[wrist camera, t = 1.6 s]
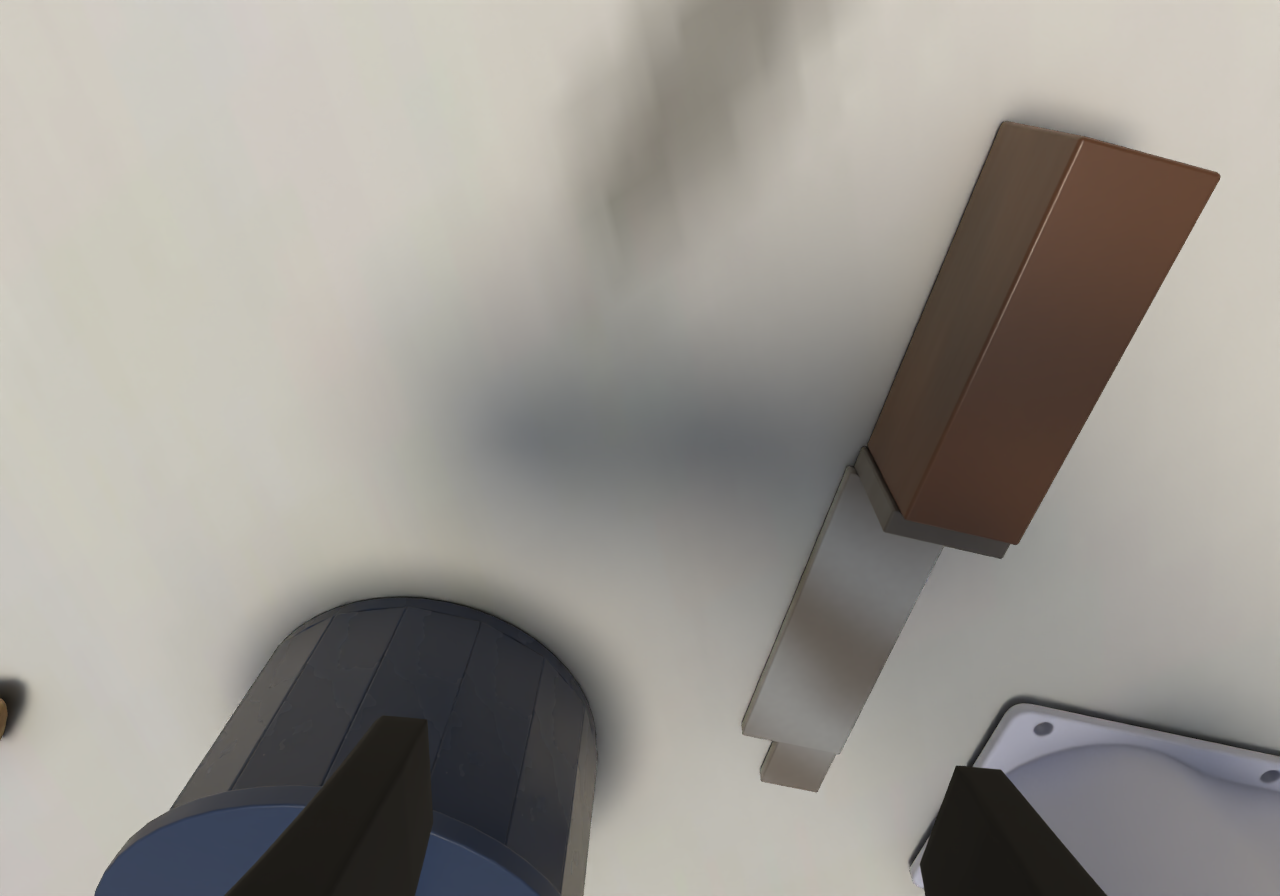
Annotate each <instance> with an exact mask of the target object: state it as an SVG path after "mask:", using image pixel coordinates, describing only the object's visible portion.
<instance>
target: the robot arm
mask: <svg viewBox="0 0 1280 896" xmlns="http://www.w3.org/2000/svg"><path fill="white" fill-rule="evenodd" d="M1043 722H1044V723H1043ZM1040 723H1043V724H1040ZM1038 724H1040V725H1038ZM432 825H433V809H432V791H431V773H430V756H429V738H428V720H427V719H418V718H407V717H395V716H384V715H383V716H381V717H380V718H378V719H377V720H376V721H375V722H374V723H373V724H372V726H371V727H370V728H369V729H368V731H367V732H366V733H365V735H364V736H363V737H362V738H361V740H360V741H359V742H358V744H357V745H356V746H355V747H354V749H353V750H352V751H351V752H350V754H349V755H348V756H347V757H346V759H345V760H344V761H343V762H342V764H341V765H340V766H339V767H338V769H337V770H336V771H335V772H334V773H333V775H332V776H331V777H330V778H329V779H328V781H327V782H326V783H325V784H324V785H323V787H322V788H321V789H320V790H319V791H318V793H317V794H316V795H315V796H314V797H313V798H312V800H311V801H310V802H309V803H308V804H307V806H306V807H305V808H304V809H303V810H302V811H301V812H300V813H299V815H298V816H297V817H296V818H295V819H294V820H293V821H292V823H291V824H290V825H289V826H288V827H287V828H286V829H285V830H284V832H283V833H282V834H281V835H280V836H279V837H278V838H277V839H276V841H275V842H274V843H273V844H272V845H271V846H270V847H269V848H268V850H267V851H266V852H265V853H264V854H263V855H262V856H261V857H260V858H259V859H258V861H257V862H256V863H255V864H254V865H253V866H252V867H251V868H250V869H249V870H248V871H247V872H246V873H245V874H244V875H243V876H242V877H241V878H240V879H239V881H238V882H237V883H236V884H235V885H234V886H233V887H232V888H231V889H230V890H229V891H228V892H227V893H226V894H225V895H224V896H415V894H416V890H417V886H418V882H419V878H420V874H421V870H422V866H423V862H424V858H425V854H426V850H427V846H428V841H429V837H430V833H431V829H432ZM909 871H910V874H911V878H912V881H913V883H914V884H915V885H916V886H918V887H920V888H923V889H924V890H925V896H1280V757H1279V756H1275V755H1270V754H1265V753H1261V752H1256V751H1251V750H1246V749H1242V748H1237V747H1232V746H1228V745H1223V744H1218V743H1213V742H1209V741H1204V740H1199V739H1194V738H1190V737H1185V736H1180V735H1176V734H1171V733H1166V732H1161V731H1157V730H1152V729H1147V728H1143V727H1138V726H1133V725H1128V724H1124V723H1119V722H1114V721H1110V720H1105V719H1100V718H1095V717H1091V716H1086V715H1081V714H1076V713H1072V712H1067V711H1062V710H1058V709H1053V708H1048V707H1043V706H1039V705H1034V704H1027V703H1021V704H1017V705H1014V706H1013V707H1011V708H1010V709H1009V710H1008V711H1007V712H1006V713H1005V715H1004V716H1003V718H1002V719H1001V721H1000V723H999V724H998V726H997V728H996V729H995V731H994V732H993V734H992V736H991V737H990V739H989V740H988V742H987V744H986V745H985V747H984V749H983V750H982V752H981V753H980V755H979V757H978V758H977V760H976V762H975V763H974V765H973V766H972V767H967V766H956V768H955V770H954V773H953V776H952V778H951V781H950V784H949V786H948V789H947V792H946V794H945V797H944V800H943V803H942V805H941V808H940V811H939V813H938V816H937V819H936V821H935V824H934V827H933V829H932V832H931V835H930V836H929V838H928V839H927V841H926V843H925V844H924V846H923V847H922V849H921V851H920V852H919V854H918V856H917V857H916V859H915V860H914V862H913V864H912V865H911V867H910V870H909Z"/></svg>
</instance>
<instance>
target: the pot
mask: <svg viewBox="0 0 1280 896" xmlns="http://www.w3.org/2000/svg"><path fill="white" fill-rule="evenodd" d="M383 715H384V716H395V717H407V718H418V719H427V720H428V738H429V756H430V773H431V791H432V809H433V810H434V811H437V812H440V813H442V814H445V815H447V816H449V817H452V818H454V819H456V820H459V821H461V822H463V823H465V824H468V825H470V826H472V827H474V828H476V829H477V830H479V831H481V832H483V833H485V834H487V835H488V836H490V837H492V838H494V839H496V840H497V841H499V842H501V843H502V844H504V845H505V846H507V847H508V848H509V849H511V850H512V851H514V852H515V853H517V854H518V855H520V856H521V857H522V858H524V859H525V860H526V861H528V862H529V863H530V864H531V865H532V866H533V867H534V868H536V869H537V870H538V871H539V872H540V873H541V874H542V875H543V876H545V877H546V878H547V879H548V880H549V882H550V883H551V884H552V885H553V886H554V887H555V888H556V890H557V891H558V892H559V893H560V894H561V895H562V896H583V895H584V885H585V876H586V866H587V856H588V847H589V837H590V827H591V818H592V808H593V798H594V788H595V779H596V769H597V759H598V758H597V757H598V754H597V750H596V732H595V726H594V719H593V716H592V713H591V710H590V707H589V704H588V701H587V699H586V698H585V696H584V694H583V692H582V690H581V688H580V686H579V684H578V683H577V682H576V680H575V679H574V678H573V676H572V675H571V673H570V672H569V671H568V669H567V668H566V667H565V666H564V665H563V664H562V663H561V662H560V661H559V660H558V659H557V658H556V657H555V656H554V655H553V654H552V653H551V652H550V651H549V650H548V649H546V648H545V647H544V646H543V645H541V644H540V643H539V642H538V641H537V640H535V639H534V638H532V637H530V636H529V635H527V634H526V633H524V632H523V631H521V630H520V629H518V628H516V627H514V626H512V625H510V624H508V623H506V622H504V621H502V620H500V619H498V618H496V617H494V616H491V615H489V614H486V613H483V612H481V611H478V610H475V609H473V608H469V607H465V606H461V605H457V604H454V603H450V602H444V601H437V600H431V599H424V598H405V597H397V598H379V599H372V600H366V601H360V602H355V603H351V604H348V605H345V606H341V607H338V608H335V609H332V610H330V611H328V612H326V613H323V614H321V615H319V616H317V617H314V618H313V619H311V620H310V621H308V622H307V623H305V624H303V625H302V626H300V627H299V628H297V629H296V630H295V631H294V632H293V633H292V634H291V635H289V636H288V637H287V638H286V639H285V640H284V641H283V642H282V643H281V644H280V645H279V646H278V647H277V649H276V650H275V652H274V653H273V655H272V656H271V658H270V659H269V661H268V662H267V664H266V665H265V667H264V668H263V670H262V671H261V673H260V674H259V676H258V677H257V679H256V680H255V682H254V683H253V685H252V686H251V688H250V689H249V691H248V692H247V694H246V695H245V697H244V698H243V700H242V701H241V703H240V704H239V706H238V707H237V709H236V710H235V712H234V713H233V715H232V717H231V718H230V720H229V721H228V723H227V724H226V726H225V727H224V729H223V730H222V732H221V733H220V735H219V736H218V738H217V739H216V741H215V742H214V744H213V745H212V747H211V748H210V750H209V751H208V753H207V754H206V756H205V757H204V759H203V760H202V762H201V763H200V765H199V766H198V768H197V769H196V771H195V772H194V774H193V775H192V777H191V778H190V780H189V781H188V783H187V784H186V786H185V787H184V789H183V790H182V792H181V793H180V795H179V796H178V798H177V799H176V801H175V802H174V804H173V805H172V807H171V808H170V810H171V809H173V808H176V807H178V806H181V805H183V804H186V803H189V802H191V801H194V800H196V799H199V798H203V797H206V796H210V795H214V794H218V793H222V792H226V791H231V790H238V789H245V788H253V787H260V786H282V785H306V786H323V785H324V784H325V783H326V782H327V781H328V779H329V778H330V777H331V776H332V775H333V773H334V772H335V771H336V770H337V769H338V767H339V766H340V765H341V764H342V762H343V761H344V760H345V759H346V757H347V756H348V755H349V754H350V752H351V751H352V750H353V749H354V747H355V746H356V745H357V744H358V742H359V741H360V740H361V738H362V737H363V736H364V735H365V733H366V732H367V731H368V729H369V728H370V727H371V726H372V724H373V723H374V722H375V721H376V720H377V719H378V718H380V717H381V716H383ZM170 810H169V811H170Z"/></svg>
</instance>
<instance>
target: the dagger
mask: <svg viewBox="0 0 1280 896" xmlns="http://www.w3.org/2000/svg"><path fill="white" fill-rule="evenodd" d="M7 715H8V714H7V707H6V704H5V702H4V701H3V700H2V699H1V698H0V740H1V738H2V736H3V733H4V730H5V725H6V720H7Z"/></svg>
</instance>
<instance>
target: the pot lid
mask: <svg viewBox="0 0 1280 896" xmlns="http://www.w3.org/2000/svg"><path fill="white" fill-rule="evenodd" d="M322 787H323V786H306V785H282V786H260V787H253V788H245V789H238V790H231V791H226V792H222V793H218V794H214V795H210V796H206V797H203V798H199V799H196V800H194V801H191V802H189V803H186V804H183V805H181V806H178V807H176V808H173V809H171V810H170V811H168V812H166V813H164V814H163V815H161V816H159V817H157V818H156V819H154V820H152V821H151V822H149V823H148V824H146V825H145V826H144V827H143V828H142V829H140V830H139V831H138V832H137V833H136V834H134V835H133V836H132V837H131V838H130V839H129V840H128V841H127V842H126V844H125V845H124V846H123V847H122V849H121V850H120V851H119V852H118V854H117V855H116V856H115V858H114V859H113V861H112V862H111V863H110V865H109V866H108V868H107V869H106V871H105V872H104V874H103V876H102V878H101V880H100V882H99V884H98V886H97V888H96V891H95V895H94V896H224V895H225V894H226V893H227V892H228V891H229V890H230V889H231V888H232V887H233V886H234V885H235V884H236V883H237V882H238V881H239V879H240V878H241V877H242V876H243V875H244V874H245V873H246V872H247V871H248V870H249V869H250V868H251V867H252V866H253V865H254V864H255V863H256V862H257V861H258V859H259V858H260V857H261V856H262V855H263V854H264V853H265V852H266V851H267V850H268V848H269V847H270V846H271V845H272V844H273V843H274V842H275V841H276V839H277V838H278V837H279V836H280V835H281V834H282V833H283V832H284V830H285V829H286V828H287V827H288V826H289V825H290V824H291V823H292V821H293V820H294V819H295V818H296V817H297V816H298V815H299V813H300V812H301V811H302V810H303V809H304V808H305V807H306V806H307V804H308V803H309V802H310V801H311V800H312V798H313V797H314V796H315V795H316V794H317V793H318V791H319V790H320V789H321V788H322ZM415 896H562V895H561V894H560V893H559V892H558V891H557V890H556V888H555V887H554V886H553V885H552V884H551V883H550V882H549V880H548V879H547V878H546V877H545V876H543V875H542V874H541V873H540V872H539V871H538V870H537V869H536V868H534V867H533V866H532V865H531V864H530V863H529V862H528V861H526V860H525V859H524V858H522V857H521V856H520V855H518V854H517V853H515V852H514V851H512V850H511V849H509V848H508V847H507V846H505V845H504V844H502V843H501V842H499V841H497V840H496V839H494V838H492V837H490V836H488V835H487V834H485V833H483V832H481V831H479V830H477V829H476V828H474V827H472V826H470V825H468V824H465V823H463V822H461V821H459V820H456V819H454V818H452V817H449V816H447V815H445V814H442V813H440V812H437V811H434V810H433V825H432V829H431V833H430V837H429V841H428V846H427V850H426V854H425V858H424V862H423V866H422V870H421V874H420V878H419V882H418V886H417V890H416V894H415Z"/></svg>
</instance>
